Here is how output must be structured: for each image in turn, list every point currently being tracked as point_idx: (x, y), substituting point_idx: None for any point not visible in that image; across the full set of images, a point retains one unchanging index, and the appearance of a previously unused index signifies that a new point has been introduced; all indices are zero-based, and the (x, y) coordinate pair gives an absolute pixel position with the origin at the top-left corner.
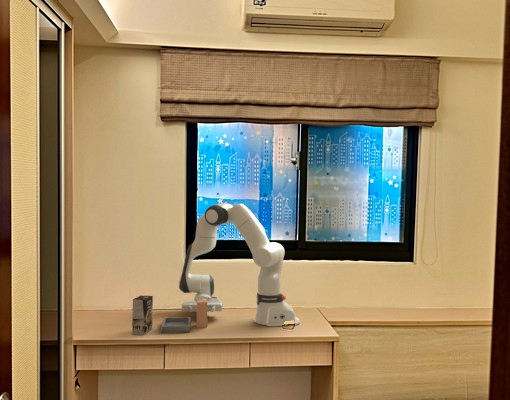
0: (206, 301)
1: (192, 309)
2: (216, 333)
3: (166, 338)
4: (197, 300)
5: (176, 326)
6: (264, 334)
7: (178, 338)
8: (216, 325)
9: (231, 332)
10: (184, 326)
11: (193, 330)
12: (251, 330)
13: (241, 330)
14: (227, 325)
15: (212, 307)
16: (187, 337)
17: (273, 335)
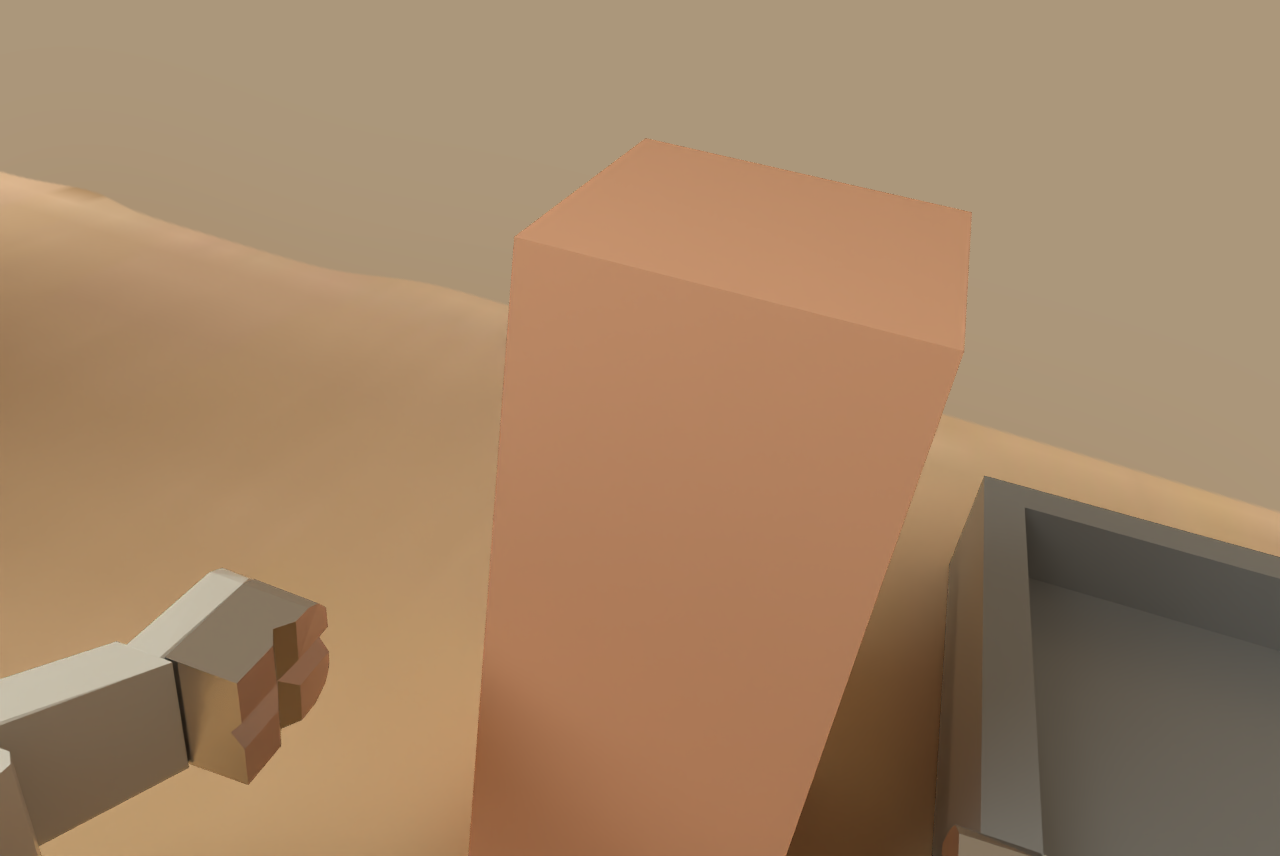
0: (636, 172)
1: (1014, 847)
2: None
3: (1264, 511)
4: (941, 307)
5: (1229, 545)
6: (52, 231)
7: (1096, 462)
8: (310, 711)
9: (344, 377)
10: (1078, 504)
11: (877, 630)
12: (26, 334)
13: (148, 377)
14: (101, 623)
15: (149, 660)
16: (979, 448)
17: (6, 195)
